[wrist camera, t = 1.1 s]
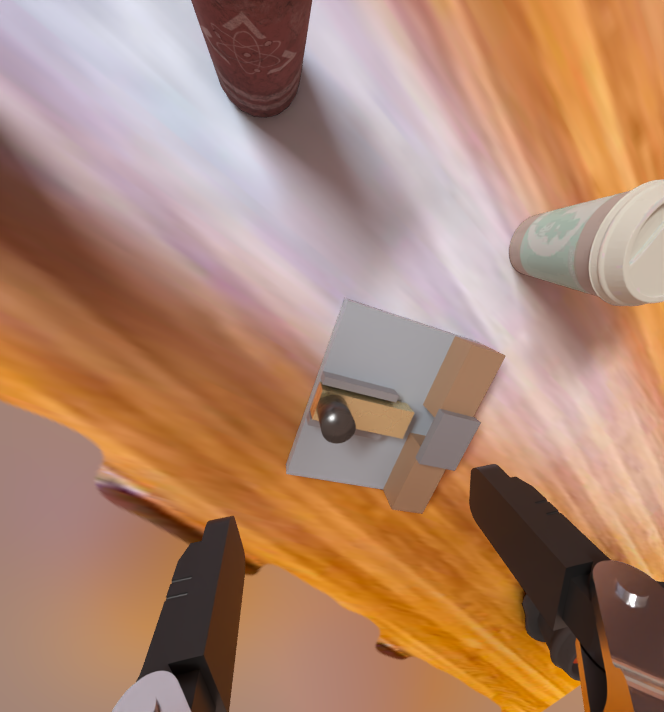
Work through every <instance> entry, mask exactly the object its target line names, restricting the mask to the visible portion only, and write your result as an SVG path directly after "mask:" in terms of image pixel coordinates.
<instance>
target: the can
mask: <svg viewBox="0 0 664 712" xmlns="http://www.w3.org/2000/svg"><path fill="white" fill-rule="evenodd" d="M191 1H192V4H193V7H194V10H195V13H196V15H197V18H198V21H199V24H200V27H201V30H202V33H203V36H204V38H205V41H206V44H207V47H208V50H209V53H210V56H211V59H212V61H213V64H214V67H215V70H216V73H217V76H218V79H219V82H220V85H221V87H222V88H223V90H224V92H225V93H226V95H227V96H228V98H229V99H230V101H232V102H233V103H234V104H235V105H236V106H237V107H238V108H239V109H241V110H242V111H244V112H246V113H248V114H250V115H253V116H257V117H270V116H273V115H277V114H279V113H281V112H282V111H283V110H285V109H286V108H287V107H288V106H289V105H290V104H291V102H292V100H293V99H294V97H295V96H296V93H297V89H298V86H299V82H300V77H301V70H302V64H303V57H304V51H305V44H306V37H307V31H308V24H309V18H310V11H311V5H312V0H191Z"/></svg>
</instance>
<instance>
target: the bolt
mask: <svg viewBox="0 0 664 712" xmlns="http://www.w3.org/2000/svg"><path fill="white" fill-rule="evenodd" d="M310 412H311V417H312V420H317V421H319V424H320V428H321V432H322V435H323V437H324V438H325V439H326V440H327V441H328V442H331V443H335V444H338V443H343V442H346V441H347V440H349V439H350V438H351V437H352V436H353V435H354V433H355V430H356V429H359V430H363V431H368V432H373V433H377V434H382V435H387V436H391V437H396V438H401V439H403V437H404V435H405V433H406V430H407V428H408V426H409V424H410V422H411V420H412V417H413V415H414V413H415V412H414V411H413V410H412V409H411V408H410V406H409V405H408V404H407V403H404V402H400V401H397V402H392V401H388V400H384V399H380V398H376V397H371V396H367V395H363V394H359V393H355V392H351V391H347V390H343V389H339V388H335V387H331V386H327V385H323V384H322V382H319V385H318V388H317V391H316V394H315V396H314V399H313V402H312V405H311V408H310Z"/></svg>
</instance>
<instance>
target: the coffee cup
mask: <svg viewBox="0 0 664 712" xmlns="http://www.w3.org/2000/svg"><path fill="white" fill-rule="evenodd" d="M509 256H510V261H511V263H512V265H513V267H514V268H515V269H516V270H517V271H518V272H520V273H522V274H525V275H528V276H531V277H535V278H538V279H541V280H545V281H548V282H551V283H555V284H558V285H561V286H565V287H568V288H571V289H575V290H578V291H582V292H585V293H588V294H592V295H595V296H599V297H600V298H601V299H602V300H603V301H605V302H607V303H609V304H611V305H615V306H639V305H643V304H647V303H658V302H663V301H664V180H654V181H650V182H647V183H645V184H642V185H640V186H638V187H636V188H635V189H633V190H632V191H628V192H624V193H620V194H616V195H612V196H608V197H604V198H600V199H596V200H592V201H588V202H585V203H581V204H577V205H573V206H569V207H565V208H561V209H557V210H553V211H549V212H546V213H542V214H538V215H534V216H532V217H530V218H528V219H526V220H525V221H524V222H523V223H522V224H521V225H520V226H519V227H518V228H517V230H516V231H515V233H514V235H513V237H512V239H511V243H510V247H509Z"/></svg>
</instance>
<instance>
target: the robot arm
mask: <svg viewBox="0 0 664 712" xmlns="http://www.w3.org/2000/svg"><path fill="white" fill-rule="evenodd" d="M469 504H470V509H471V513H472V515H473V518H474V520H475V521H476V523H477V524H478V526H479V527H480V529H481V530H482V531H483V533H484V534H485V536H486V537H487V538H488V540H489V541H490V543H491V544H492V546H493V547H494V548H495V550H496V551H497V553H498V554H499V555H500V557H501V558H502V560H503V561H504V562H505V564H506V565H507V567H508V568H509V570H510V571H511V572H512V574H513V575H514V577H515V578H516V579H517V581H518V582H519V584H520V585H521V586H522V588H523V589H524V591H525V592H526V593H527V595H528V596H529V598H530V599H531V601H532V602H533V603H534V605H535V606H536V608H537V609H538V610H539V612H540V613H541V615H542V616H543V617H544V619H545V620H546V622H547V623H548V625H549V626H550V627H551V629H552V630H553V631H555V630H558V629H562V628H566V627H569V629H570V630H571V631H572V633H573V634H574V635H575V636H576V641H575V646H576V654H577V661H578V668H579V675H580V682H581V689H582V696H583V703H584V710H585V712H664V582H658V581H655V580H654V579H652V578H651V577H650V576H649V575H647V574H646V573H644V572H642V571H641V570H639V569H637V568H635V567H633V566H631V565H628V564H625V563H622V562H618V561H612V560H610V559H609V558H608V557H607V556H606V555H605V554H604V553H603V552H601V551H600V550H599V549H598V548H597V547H596V546H595V545H594V544H593V543H592V542H591V541H590V540H589V539H588V538H587V537H586V536H585V535H584V534H582V533H581V532H580V531H579V530H578V529H577V528H576V527H575V526H574V525H573V524H572V523H571V522H570V521H569V520H568V519H567V518H566V517H565V516H564V515H562V514H561V513H559V512H558V510H557V509H556V508H555V507H554V506H553V505H552V504H551V503H550V502H547V499H546V498H545V497H543V496H542V495H541V494H540V493H539V492H538V491H537V490H536V489H535V488H534V487H533V486H531V485H529V484H528V483H526V482H524V481H522V480H521V479H519V478H517V477H512V478H510V477H509V476H508V475H507V474H506V473H505V472H504V471H503V470H502V469H501V468H500V467H499V466H498V465H496V464H491V465H486V466H482V467H477V468H473V469H472V470H471V480H470V499H469ZM244 577H245V554H244V549H243V545H242V542H241V538H240V535H239V531H238V528H237V524H236V521H235V518H234V516H230V517H225V518H220V519H215V520H210V521H208V522H207V524H206V527H205V531H204V535H203V538H202V541H200V542H195V543H191V544H190V545H189V547H188V548H187V549H186V551H185V552H184V554H183V555H182V556H181V558H180V559H179V561H178V563H177V566H176V569H175V572H174V575H173V578H172V584H170V587H169V590H168V593H167V596H166V597H167V599H166V601H165V602H164V605H163V608H162V611H161V614H160V617H159V620H158V623H157V626H156V629H155V632H154V635H153V638H152V641H151V644H150V647H149V650H148V653H147V656H146V659H145V662H144V665H143V668H142V670H141V673H140V676H139V677H138V679H137V681H136V683H135V684H134V685H132V686H131V687H130V688H129V689H128V690H127V691H126V692H125V694H124V695H123V696H122V697H121V699H120V700H119V701H118V703H117V704H116V706H115V707H114V709H113V711H112V712H229V706H230V698H231V689H232V681H233V672H234V663H235V655H236V646H237V637H238V628H239V620H240V610H241V603H242V594H243V585H244Z"/></svg>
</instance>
